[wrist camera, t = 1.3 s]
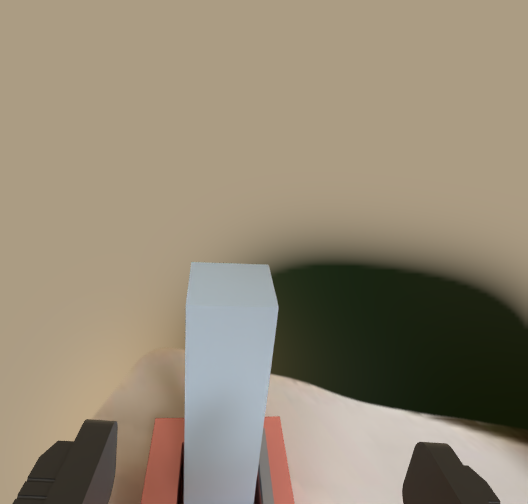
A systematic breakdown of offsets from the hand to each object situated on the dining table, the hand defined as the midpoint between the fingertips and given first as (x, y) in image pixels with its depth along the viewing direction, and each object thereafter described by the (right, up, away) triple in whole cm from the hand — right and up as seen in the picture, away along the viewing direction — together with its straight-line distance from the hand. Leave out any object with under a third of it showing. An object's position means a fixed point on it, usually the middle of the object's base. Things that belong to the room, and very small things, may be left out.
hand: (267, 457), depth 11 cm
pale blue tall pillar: (-4, -14, +19) cm, 24 cm away
